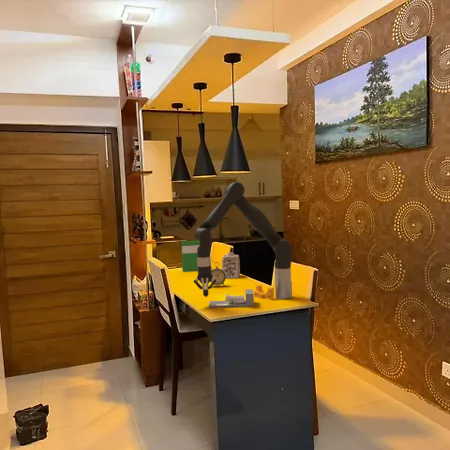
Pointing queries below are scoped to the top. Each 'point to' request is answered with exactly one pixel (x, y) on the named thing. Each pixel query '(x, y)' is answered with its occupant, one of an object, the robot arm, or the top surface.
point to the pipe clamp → (262, 294)
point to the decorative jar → (231, 265)
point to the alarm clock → (218, 275)
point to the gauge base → (247, 303)
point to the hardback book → (189, 255)
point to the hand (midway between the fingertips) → (205, 296)
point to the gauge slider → (234, 299)
